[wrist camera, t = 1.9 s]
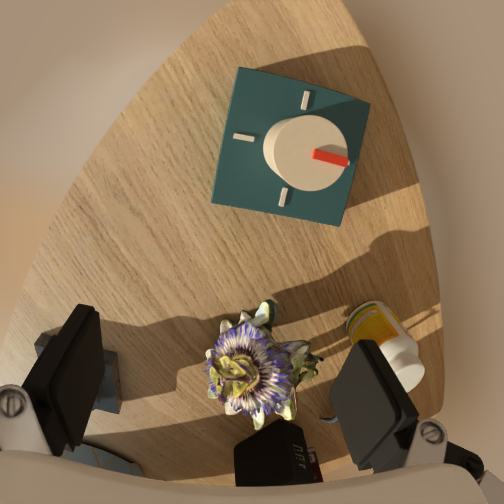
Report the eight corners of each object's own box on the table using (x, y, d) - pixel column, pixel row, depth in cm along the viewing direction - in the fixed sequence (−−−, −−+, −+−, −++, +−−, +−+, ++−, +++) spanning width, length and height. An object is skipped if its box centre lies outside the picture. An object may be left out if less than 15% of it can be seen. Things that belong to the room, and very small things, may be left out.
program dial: (257, 171, 21) (266, 183, 16) (270, 111, 19) (283, 106, 15) (316, 184, 21) (339, 199, 17) (330, 127, 20) (357, 127, 15)
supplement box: (314, 466, 43) (332, 539, 29) (287, 471, 43) (301, 545, 29) (315, 446, 40) (337, 529, 25) (285, 451, 40) (302, 537, 25)
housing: (55, 383, 31) (45, 404, 28) (41, 332, 28) (27, 353, 24) (122, 402, 33) (116, 425, 29) (116, 352, 30) (107, 377, 26)
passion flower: (228, 296, 34) (241, 281, 23) (313, 332, 35) (364, 333, 23) (188, 386, 31) (182, 418, 19) (277, 419, 31) (311, 458, 20)
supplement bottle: (395, 300, 30) (442, 356, 21) (377, 340, 32) (414, 398, 23) (354, 296, 29) (396, 358, 20) (337, 338, 31) (368, 404, 22)
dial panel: (212, 194, 24) (210, 203, 21) (236, 74, 21) (238, 65, 18) (328, 216, 26) (340, 227, 23) (355, 105, 22) (372, 103, 19)
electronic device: (301, 425, 37) (316, 484, 28) (253, 453, 39) (259, 507, 30) (281, 416, 36) (293, 479, 26) (232, 446, 38) (236, 503, 29)
